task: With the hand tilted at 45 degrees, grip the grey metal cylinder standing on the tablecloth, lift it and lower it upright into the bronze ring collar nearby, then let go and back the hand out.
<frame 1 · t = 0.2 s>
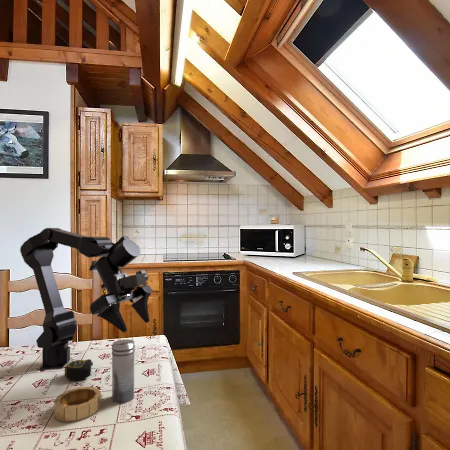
hand: (137, 326, 84), 15 cm above the table, fingers open, 9 cm apart
ring collar: (77, 410, 70), on the table
tape measure: (81, 377, 87), on the table
grey metal cylinder: (123, 398, 75), on the table
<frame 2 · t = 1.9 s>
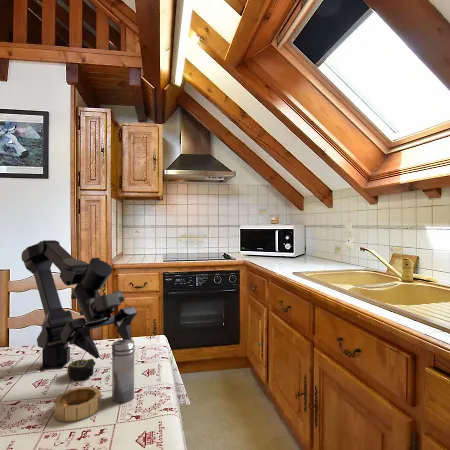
hand: (115, 351, 77), 10 cm above the table, fingers open, 9 cm apart
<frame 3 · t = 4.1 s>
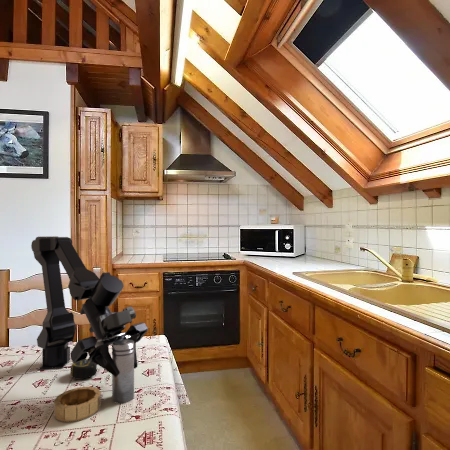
hand: (126, 371, 75), 7 cm above the table, fingers closed on grey metal cylinder, 5 cm apart
grey metal cylinder: (123, 397, 75), on the table, touching gripper
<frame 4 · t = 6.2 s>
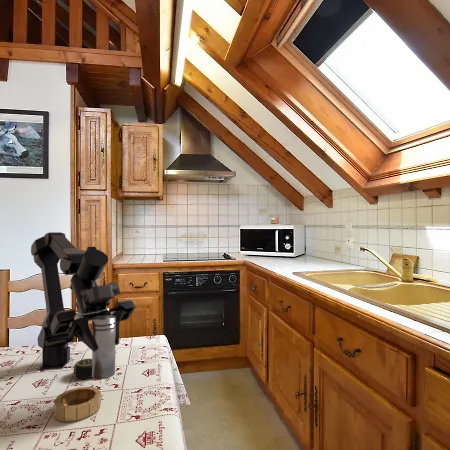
hand: (106, 347, 72), 13 cm above the table, fingers closed on grey metal cylinder, 5 cm apart
grey metal cylinder: (103, 374, 73), point 7 cm above the table, touching gripper
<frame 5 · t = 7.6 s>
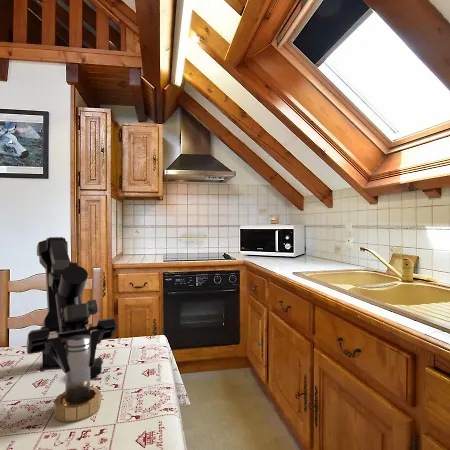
hand: (79, 369, 69), 9 cm above the table, fingers closed on grey metal cylinder, 5 cm apart
grey metal cylinder: (77, 396, 70), point 3 cm above the table, touching gripper
when the fingers open (8 cm above the table, at t = 8.7 s): grey metal cylinder stays where it is, resting on ring collar.
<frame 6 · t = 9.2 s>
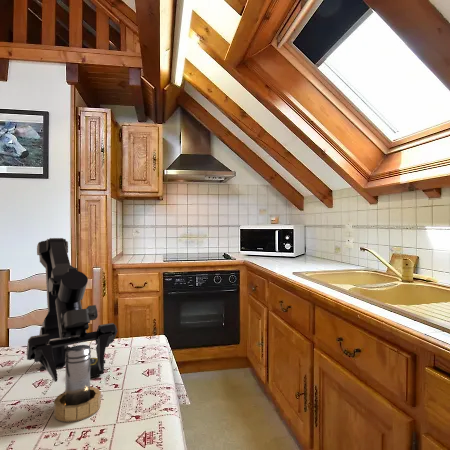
hand: (79, 375, 69), 8 cm above the table, fingers open, 9 cm apart
grey metal cylinder: (77, 407, 70), resting on ring collar
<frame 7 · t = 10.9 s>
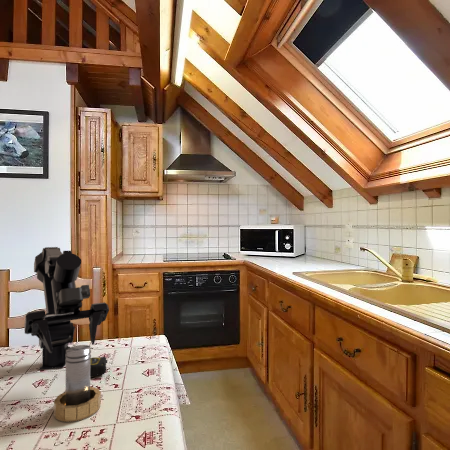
hand: (73, 347, 75), 12 cm above the table, fingers open, 9 cm apart
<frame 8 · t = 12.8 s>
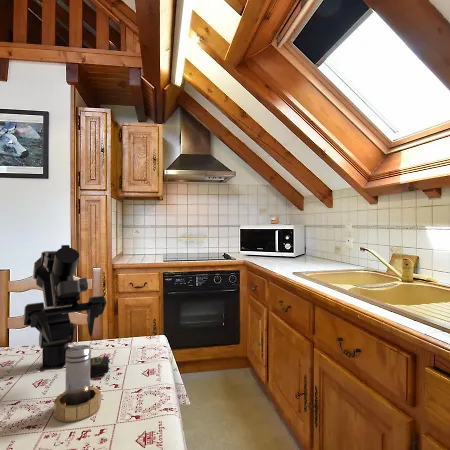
hand: (71, 338, 77), 14 cm above the table, fingers open, 9 cm apart
at the end: grey metal cylinder 0.2 cm off-centre on the ring collar, point 0.4 cm above the ring collar's base; grey metal cylinder tilted 0°; the gripper is holding nothing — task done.
